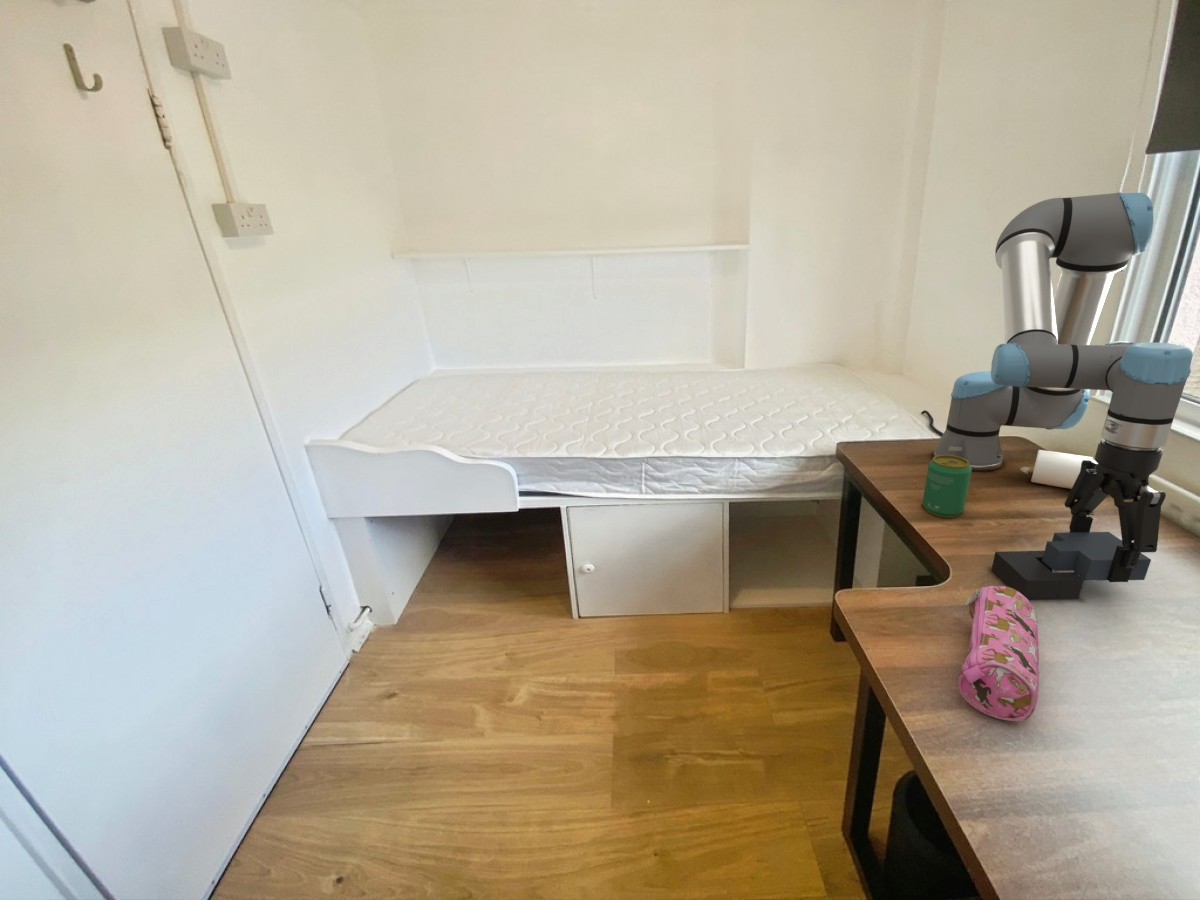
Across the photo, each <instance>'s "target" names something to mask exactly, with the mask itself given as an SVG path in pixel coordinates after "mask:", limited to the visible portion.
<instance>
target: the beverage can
mask: <svg viewBox="0 0 1200 900" xmlns="http://www.w3.org/2000/svg"><path fill="white" fill-rule="evenodd" d="M927 466H928V467H927V473H926V478H925V485H924V491H923V496H922V497H923V498H922V506H923V509H924V510H925V511H926V512H927V513H929V514H931V515H933V516H937V517H940V518H957V517H959V516H960V515H961V514H962V513H963V512H964V510H965V507H966V502H967V496H968V491H969V485H970V481H971V476H972V472H973V470H972V468H971V466H970V465H969V461H968V460H966V459H964V458H962V457H958V456H953V455H937V456H935V457H934V456H933V457H932V459H931V460H930V461H929V462H928V465H927Z"/></svg>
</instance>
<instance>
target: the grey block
mask: <svg viewBox="0 0 1200 900" xmlns="http://www.w3.org/2000/svg"><path fill="white" fill-rule="evenodd" d="M1117 546H1123V545H1122V539H1121V538H1119V537H1117V536H1116V535H1115V534H1112V533H1111V532H1109V531H1090V532H1070V531H1069V532H1066V531H1065V532H1053V536H1052V540H1048V541H1046V543H1045V547H1044V550H1043V551H1044V555H1043V559H1042V561H1043V562H1044V563H1045V564H1047V565H1048V566H1049V567H1050V568H1051V569H1053V570H1052V571H1054V572H1075V573H1077V574H1078V575H1079V576H1080V577H1082V578H1083V579H1084V581H1087V582H1088V581H1108V580H1107V577H1108V574H1109V570H1110V567H1111V564H1112V561H1113V557H1114V554H1115V551H1116V548H1117ZM1151 562H1152V559H1151V558H1150V557H1148V556H1147V555H1145V554H1143V553H1140V556H1139V559H1138V562H1137V565H1136V567H1135V568H1132V571H1131V574H1130V577H1129V580H1128V581H1145V579H1146V576H1147V573H1148V571H1149V567H1150V565H1151Z"/></svg>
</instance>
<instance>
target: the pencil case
mask: <svg viewBox="0 0 1200 900" xmlns="http://www.w3.org/2000/svg"><path fill="white" fill-rule="evenodd" d="M964 606H965V607H966V608H968V613H969V615H970V618H971V620H972V621H971V626H970V636H969V642H968V648H967V656H966V657H965V660H964V662H963V664H962V665H961V667H960V668H959V671H958V673H957V676H956V685H957V689H958V692H959V694H960V695H961V696H962V698H963V699H964V700H965V701H966V702H967V703H968V704H969V705H971V706H972V707H973V708H974V709H976V710H978V711H979V712H981V713H982V714H984V715H987V716H989V717H992V718H996V719H997V720H998V719H999V720H1001V721H1002V720H1004V721H1010V722H1024V721H1026V720H1028V719H1030V717H1031V716H1032V715H1033V713H1034V712H1035V710H1036V708H1037V703H1038V697H1039V685H1040V684H1039V683H1040V679H1039V678H1040V670H1039V663H1040V651H1039V644H1040V643H1039V628H1038V617H1037V613H1036V611H1035V608H1034V606H1033V605H1032V603H1031V602H1030V600H1028V599H1027V598H1026V597H1025V596H1023V595H1022V594H1021V593H1020V592H1018V591H1017V590H1015V589H1012V588H1010V587H1008V586H1004V585H1001V586H1000V585H999V586H998V585H988V586H986V587H985V586H983V587H981V588H980V590H979V589H975V590H974V593H972V595H971V597H970V598H969V599H968V600H967V601H966V602H965V603H964Z"/></svg>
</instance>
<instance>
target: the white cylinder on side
mask: <svg viewBox="0 0 1200 900" xmlns="http://www.w3.org/2000/svg"><path fill="white" fill-rule="evenodd" d="M1083 460H1094V457H1093V456H1086V455H1082V454H1081V455H1079V454H1073V453H1066V452H1059V451H1051V450H1046V449H1037V454H1036V458H1035V463H1034V466H1033V471H1032V475H1031V479H1030V482H1031V483H1035V484H1040V485H1046V486H1050V487H1051V486H1052V487H1057V488H1064V489H1068V490H1071V489H1072V487H1073V485H1074V483H1075V481H1076V479H1077V477H1078V475H1079V473H1080V469H1081V463H1082V461H1083Z"/></svg>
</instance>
